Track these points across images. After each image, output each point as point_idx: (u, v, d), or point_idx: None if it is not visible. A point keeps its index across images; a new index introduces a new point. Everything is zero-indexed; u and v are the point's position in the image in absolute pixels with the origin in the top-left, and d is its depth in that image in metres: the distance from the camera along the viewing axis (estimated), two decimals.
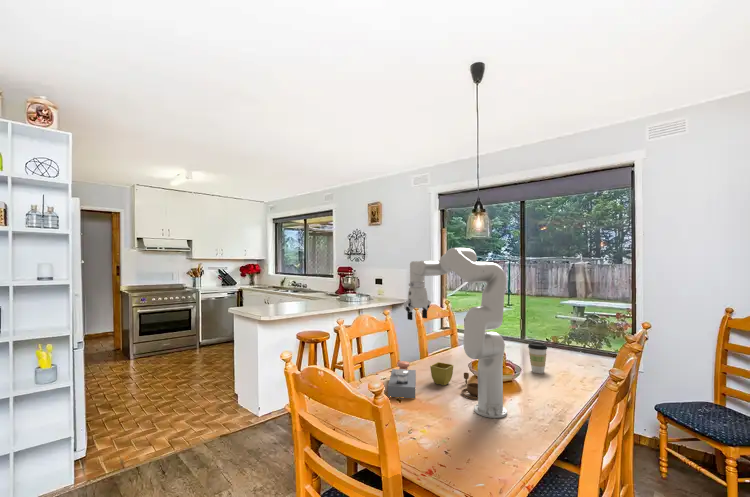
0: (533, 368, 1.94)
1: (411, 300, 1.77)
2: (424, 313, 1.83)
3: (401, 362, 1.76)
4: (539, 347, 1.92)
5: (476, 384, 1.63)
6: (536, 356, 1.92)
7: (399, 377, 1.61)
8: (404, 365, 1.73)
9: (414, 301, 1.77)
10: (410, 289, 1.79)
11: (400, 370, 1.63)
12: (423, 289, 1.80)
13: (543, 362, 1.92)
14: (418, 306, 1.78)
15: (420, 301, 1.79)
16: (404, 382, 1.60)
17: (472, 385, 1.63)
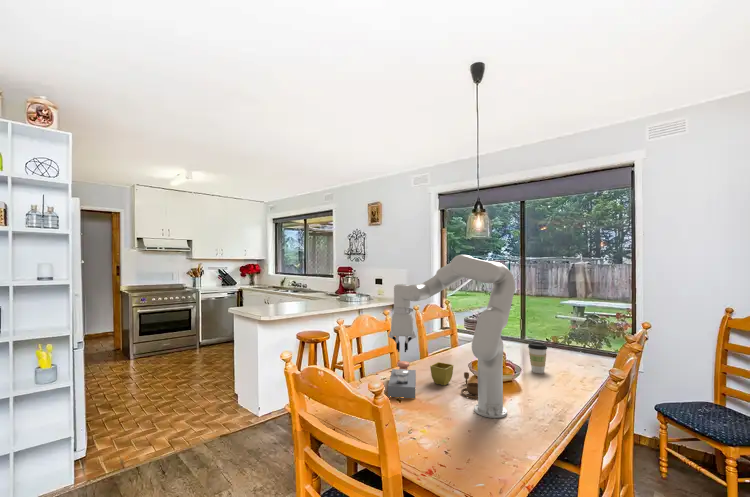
0: (533, 368, 1.94)
1: (412, 326, 1.64)
2: (399, 345, 1.63)
3: (401, 362, 1.76)
4: (539, 347, 1.92)
5: (476, 384, 1.63)
6: (536, 356, 1.92)
7: (399, 377, 1.61)
8: (404, 365, 1.73)
9: None
10: (411, 315, 1.63)
11: (400, 370, 1.63)
12: None
13: (543, 362, 1.92)
14: None
15: None
16: (404, 382, 1.60)
17: (472, 385, 1.64)
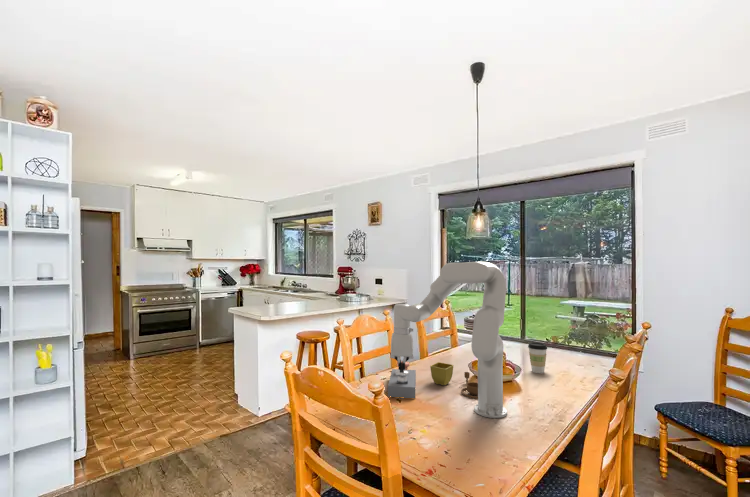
0: (533, 368, 1.94)
1: None
2: None
3: None
4: (539, 347, 1.92)
5: (476, 383, 1.64)
6: (536, 356, 1.92)
7: (399, 377, 1.61)
8: None
9: None
10: (411, 335, 1.62)
11: None
12: None
13: (543, 362, 1.92)
14: None
15: None
16: (404, 382, 1.60)
17: (472, 384, 1.64)
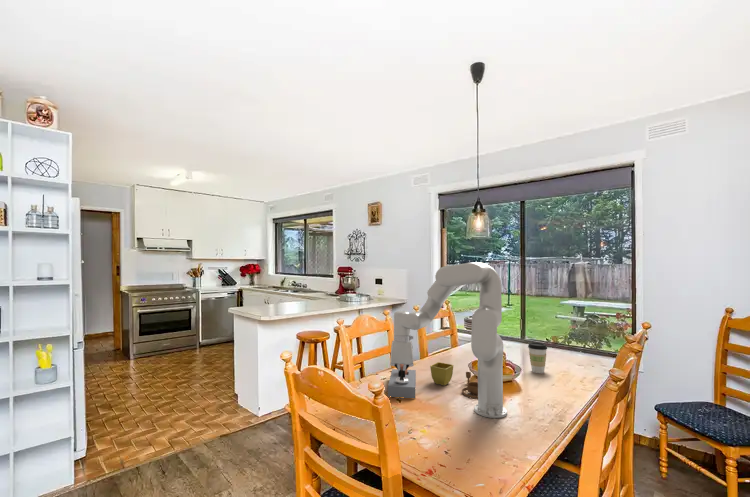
0: (533, 368, 1.94)
1: None
2: None
3: None
4: (539, 347, 1.92)
5: (477, 383, 1.64)
6: (536, 356, 1.92)
7: None
8: None
9: None
10: (411, 343, 1.62)
11: None
12: None
13: (543, 362, 1.92)
14: None
15: None
16: None
17: (473, 384, 1.65)
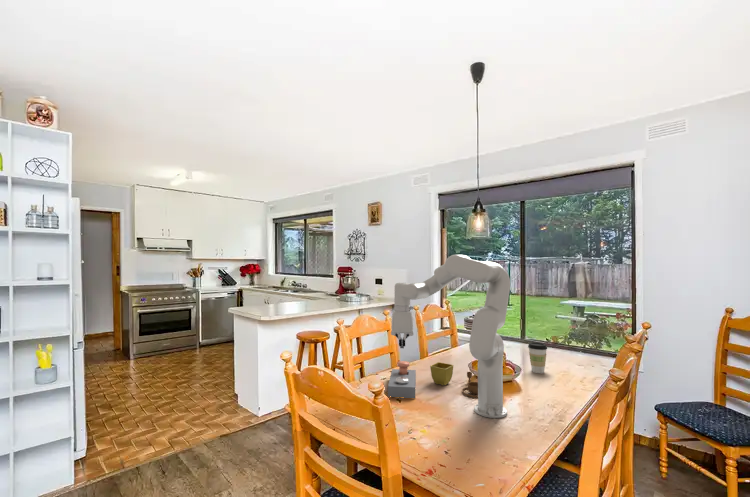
0: (533, 368, 1.94)
1: None
2: None
3: (401, 362, 1.76)
4: (539, 347, 1.92)
5: (477, 383, 1.65)
6: (536, 356, 1.92)
7: None
8: (404, 365, 1.73)
9: None
10: (411, 313, 1.68)
11: (400, 378, 1.63)
12: None
13: (543, 362, 1.92)
14: None
15: None
16: None
17: (473, 384, 1.65)
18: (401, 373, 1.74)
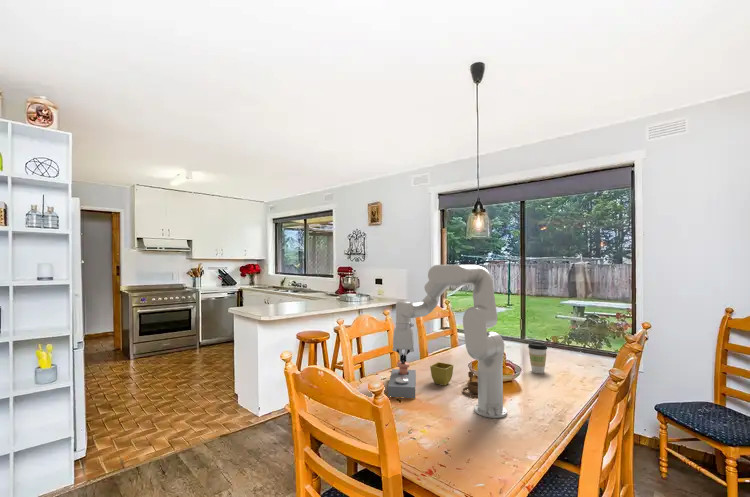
0: (533, 368, 1.94)
1: None
2: None
3: None
4: (539, 347, 1.92)
5: None
6: (536, 356, 1.92)
7: None
8: (404, 366, 1.73)
9: None
10: (412, 330, 1.76)
11: (400, 378, 1.63)
12: None
13: (543, 362, 1.92)
14: None
15: None
16: None
17: (474, 384, 1.66)
18: (401, 374, 1.74)
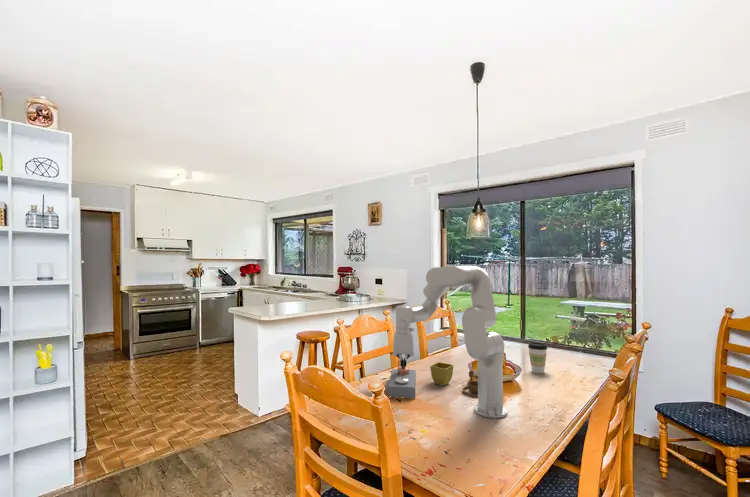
0: (533, 368, 1.94)
1: (413, 345, 1.77)
2: None
3: (401, 367, 1.76)
4: (539, 347, 1.92)
5: None
6: (536, 356, 1.92)
7: None
8: (404, 370, 1.73)
9: None
10: (412, 334, 1.76)
11: (400, 378, 1.63)
12: None
13: (543, 362, 1.92)
14: None
15: None
16: None
17: (474, 383, 1.66)
18: None
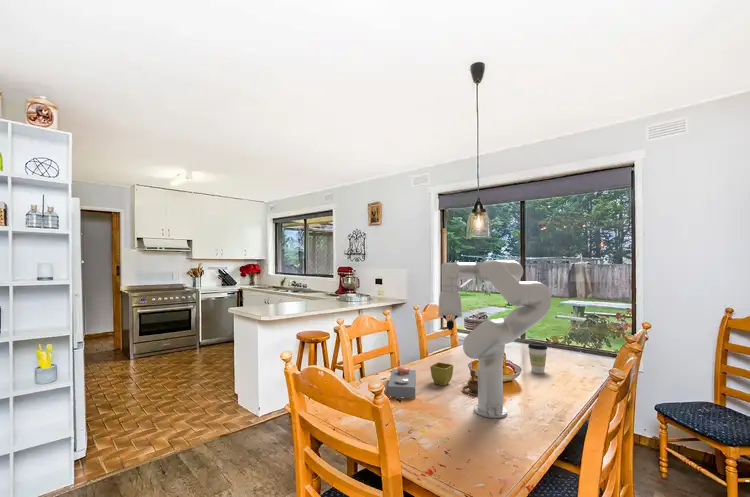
0: (533, 368, 1.94)
1: None
2: None
3: (401, 367, 1.76)
4: (539, 347, 1.92)
5: None
6: (536, 356, 1.92)
7: None
8: (404, 370, 1.73)
9: None
10: (459, 293, 1.63)
11: (400, 378, 1.63)
12: None
13: (543, 362, 1.92)
14: None
15: None
16: None
17: (474, 382, 1.67)
18: None
